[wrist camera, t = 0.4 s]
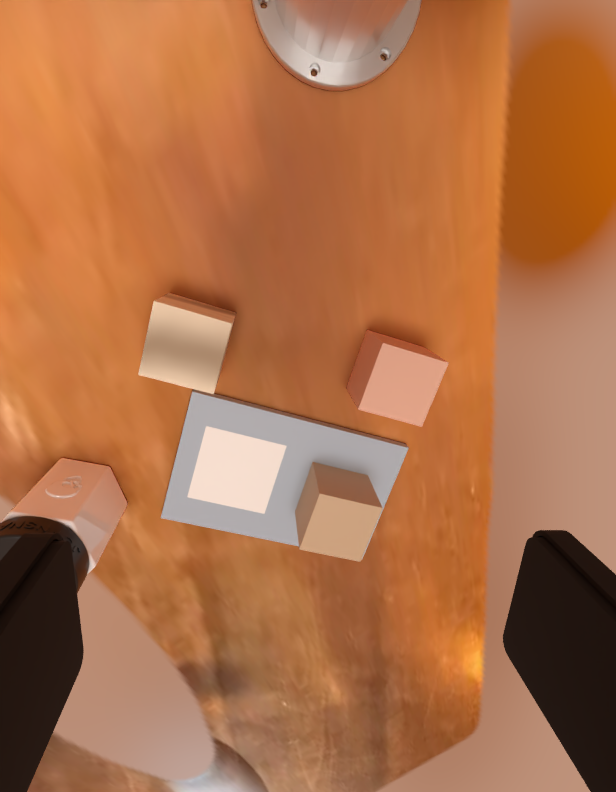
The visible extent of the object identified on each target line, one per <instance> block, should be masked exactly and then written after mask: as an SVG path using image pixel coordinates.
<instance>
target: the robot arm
mask: <svg viewBox="0 0 616 792" xmlns="http://www.w3.org/2000/svg"><path fill="white" fill-rule="evenodd" d="M262 3H265V4H266V5H267V8H261V4H262ZM252 6H253V10H254V14H255V18H256V22H257V25H258V27H259V30H260V32H261V34H262V37H263V39H264V41H265V43H266V45H267V46H268V48H269V49H270V51H271V53H272V54H273V56H274V57H275V58H276V59H277V61H278V62H279V63H280V64H281V65H282V66H283V67H284V68H285V69H286V70H287V71H288V72H289V73H291V74H292V75H293V76H295V77H296V78H297V79H299V80H300V81H302V82H304V83H307V84H309V85H311V86H313V87H316V88H320V89H325V90H340V91H344V90H349V89H353V88H358V87H360V86H363V85H365V84H367V83H369V82H371V81H373V80H374V79H376V78H377V77H378V76H380V75H381V74H382V73H384V72H385V71H386V70H387V69H388V68H389V67H390V66H391V65H392V64H393V62H394V61H395V60H396V59H397V58H398V56H399V55H400V53H401V52H402V50H403V49H404V48H405V46H406V44H407V42H408V40H409V38H410V36H411V34H412V33H413V31H414V28H415V25H416V22H417V18H418V15H419V12H420V7H421V0H252ZM381 55H384V56H385V58H386V60H385V61H383V60H382V59H381V57H380V56H381ZM311 71H316V73H317V76H315V77H313V76H312V75H311ZM503 643H504V647H505V651H506V653H507V655H508V657H509V658H510V660H511V662H512V663H513V665H514V667H515V668H516V670H517V672H518V673H519V675H520V676H521V678H522V680H523V681H524V683H525V685H526V686H527V688H528V690H529V691H530V693H531V694H532V696H533V698H534V699H535V701H536V703H537V704H538V706H539V708H540V709H541V711H542V712H543V714H544V716H545V717H546V719H547V721H548V722H549V724H550V726H551V727H552V729H553V731H554V732H555V734H556V736H557V737H558V739H559V740H560V742H561V744H562V745H563V747H564V749H565V750H566V752H567V754H568V755H569V757H570V759H571V760H572V762H573V763H574V765H575V767H576V768H577V770H578V772H579V773H580V775H581V776H582V778H583V780H584V781H585V783H586V784H587V786H588V788H589V790H590V791H591V792H616V575H615V574H614V573H613V572H612V571H611V570H610V569H609V568H608V567H607V566H606V565H604V564H603V563H602V562H601V561H600V560H599V559H598V558H597V557H596V556H595V555H594V554H592V553H591V552H590V551H589V550H588V549H587V548H586V547H585V546H584V545H583V544H581V543H580V542H579V541H578V540H577V539H576V538H575V537H574V536H573V535H572V534H570V533H569V532H567V531H563V530H545V531H544V530H540V531H537V532H535V534H534V535H533V537H532V538H529V539H528V540H527V542H526V546H525V549H524V553H523V557H522V561H521V565H520V570H519V574H518V577H517V581H516V585H515V589H514V594H513V598H512V602H511V606H510V610H509V614H508V618H507V622H506V626H505V630H504V634H503ZM82 659H83V641H82V633H81V624H80V615H79V607H78V599H77V590H76V581H75V573H74V564H73V556H72V547H71V544H70V542H69V541H62V537H61V536H60V534H58V533H26V534H23V535H22V536H21V537H20V538H19V539H18V541H17V542H16V543H15V544H14V545H13V546H12V548H11V549H10V550H9V551H8V552H7V553H6V555H5V556H4V557H3V558H2V559H1V561H0V792H27V790H28V788H29V786H30V783H31V781H32V779H33V776H34V774H35V772H36V770H37V767H38V765H39V763H40V760H41V758H42V756H43V753H44V751H45V749H46V747H47V744H48V742H49V740H50V737H51V735H52V733H53V731H54V728H55V726H56V724H57V721H58V719H59V717H60V715H61V712H62V710H63V708H64V705H65V703H66V701H67V699H68V696H69V694H70V692H71V689H72V687H73V685H74V682H75V680H76V678H77V676H78V673H79V671H80V668H81V664H82Z"/></svg>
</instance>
